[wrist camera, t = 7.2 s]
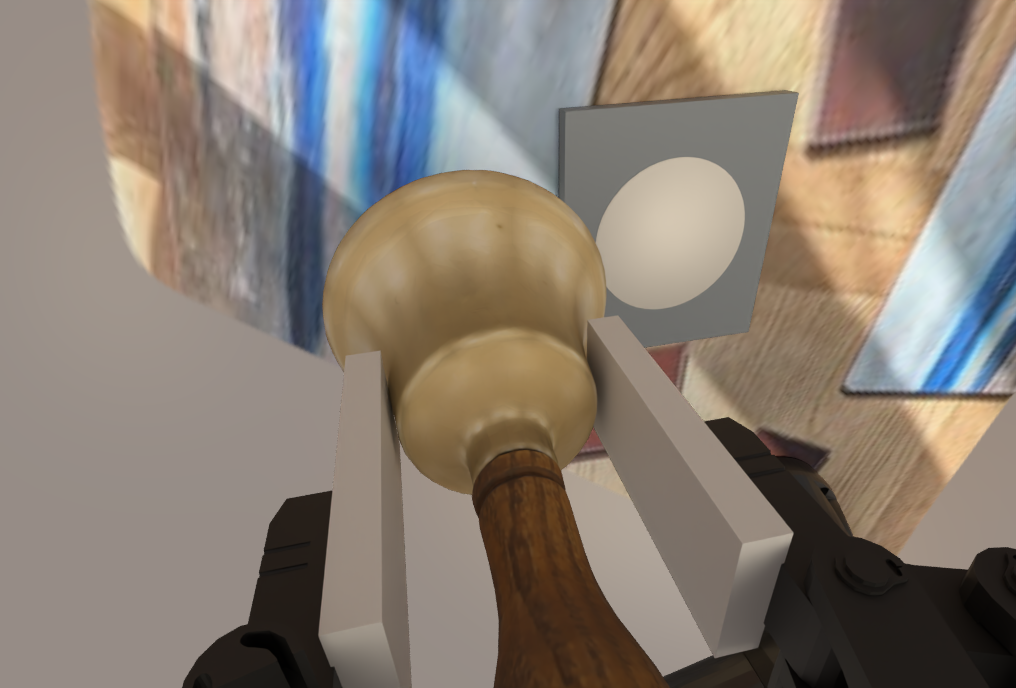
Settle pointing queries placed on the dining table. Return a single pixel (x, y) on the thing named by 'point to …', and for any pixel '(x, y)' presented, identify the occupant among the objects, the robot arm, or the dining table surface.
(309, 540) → the robot arm
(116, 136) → the dining table surface
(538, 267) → the hand bell
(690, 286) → the board
